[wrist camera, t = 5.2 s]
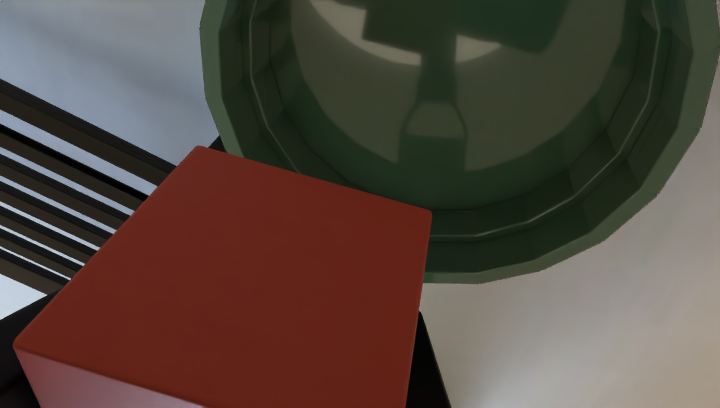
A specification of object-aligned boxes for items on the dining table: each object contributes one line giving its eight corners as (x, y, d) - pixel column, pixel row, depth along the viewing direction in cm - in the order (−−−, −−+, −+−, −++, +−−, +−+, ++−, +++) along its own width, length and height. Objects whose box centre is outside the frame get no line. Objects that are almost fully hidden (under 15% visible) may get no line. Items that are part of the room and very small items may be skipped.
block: (434, 209, 9) (399, 463, 5) (380, 351, 11) (334, 578, 8) (196, 142, 9) (5, 342, 5) (201, 298, 12) (78, 496, 8)
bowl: (788, -30, 14) (878, 10, 11) (492, 265, 22) (494, 334, 19) (342, -318, 12) (292, -372, 9) (211, 121, 21) (163, 172, 18)
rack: (249, 128, 21) (194, 196, 17) (195, 276, 27) (147, 349, 23) (-74, -38, 19) (-218, -6, 15) (-46, 162, 26) (-141, 220, 22)
